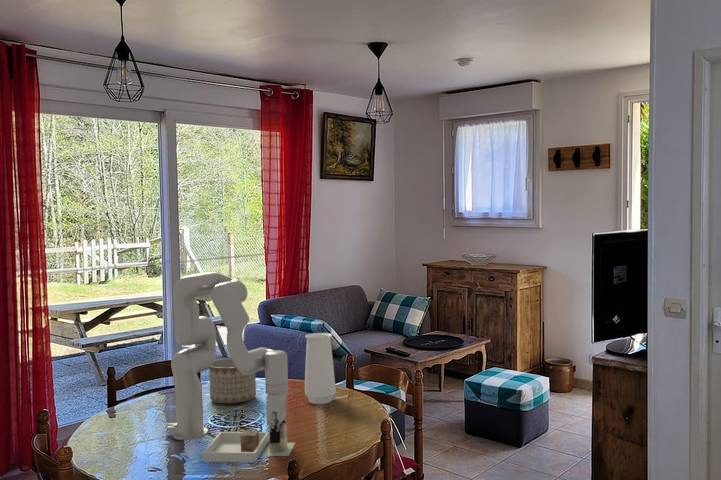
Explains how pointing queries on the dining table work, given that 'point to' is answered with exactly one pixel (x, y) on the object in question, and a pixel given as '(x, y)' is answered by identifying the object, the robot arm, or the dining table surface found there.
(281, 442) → the birch box
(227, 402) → the planter
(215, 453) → the bin
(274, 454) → the pad
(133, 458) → the dining table surface
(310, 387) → the vase
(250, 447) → the walnut block
